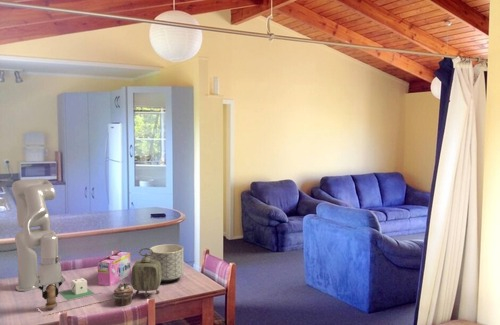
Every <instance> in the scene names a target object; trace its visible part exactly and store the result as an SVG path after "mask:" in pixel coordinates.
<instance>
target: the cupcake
mask: <svg viewBox="0 0 500 325" xmlns="http://www.w3.org/2000/svg"><path fill="white" fill-rule="evenodd" d="M113 291H114V292H113V294H112V297H113V301H114V305H115V306H116V307H126V306H129V305H131V303H132V298H133V294H134V292H133V291H134V289H133V287H132V285H131V284H130V283H128V282H124V283H123V284H122V283H119V285H118V286H117V287H116V288H114V290H113Z"/></svg>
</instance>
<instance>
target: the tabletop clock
mask: <svg viewBox="0 0 500 325" xmlns="http://www.w3.org/2000/svg"><path fill="white" fill-rule="evenodd" d="M143 250H144V251H145V250H149V251H150V250H151V249H150V248H147V247H146V248H141V249H140V250H139V255H140V256H142V258H141V259H140V260H137V261H135V262H134V264H133V265H132V266H131V275H130V280H131V281H130V282H131V288H132V289H133V291H135V294H136V295H138V294H139V293H140V292H145V294H144V297H145V298H147V297H148V296H149V295H148V292H152V291H155V292H156V294H160V290H158V289H159V286H160V285H161V282H162V281H161V278H162V269H161V264H160V262H159V261H157V260H151V258H150V256H151V255H152V254H153V251H152V250H151V251H152V254H150V253H149V254H148V253H145V254H142V253H141V252H142V251H143Z"/></svg>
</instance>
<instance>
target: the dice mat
mask: <svg viewBox="0 0 500 325" xmlns="http://www.w3.org/2000/svg"><path fill="white" fill-rule="evenodd" d="M58 293H59V294H60V295H61V296H62V297H63V298H65V300H66V301H68V300H72V299H75V300H76V299H77V298H79V299H80V298H81V297H85V296H88V297H89V296H90V295H92V296H93V295H94V294H96V293H95V292H94V291H92V290H91V289H89V288H88V287H87V292H85V293H81V294H77V295H76V294H75V293H73V292H72V289H69V290H68V289H67V290H64V291H60V292H59V291H58Z"/></svg>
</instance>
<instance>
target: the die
mask: <svg viewBox="0 0 500 325" xmlns="http://www.w3.org/2000/svg"><path fill="white" fill-rule="evenodd" d="M87 288H88V280H86V279H85V278H84V277H82V278H76V279H72V280H71V290H72V292H73V293H75V294H76V295H77V294H81V293H85V292H87Z"/></svg>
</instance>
